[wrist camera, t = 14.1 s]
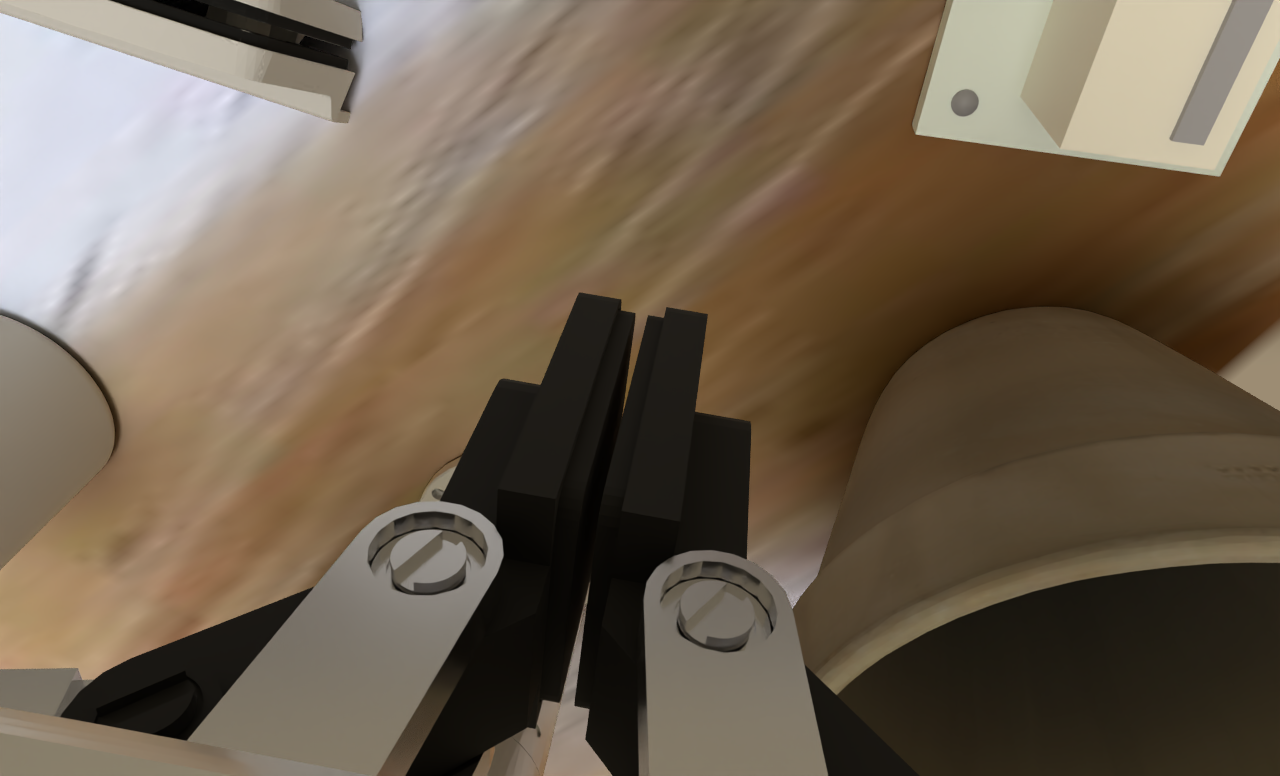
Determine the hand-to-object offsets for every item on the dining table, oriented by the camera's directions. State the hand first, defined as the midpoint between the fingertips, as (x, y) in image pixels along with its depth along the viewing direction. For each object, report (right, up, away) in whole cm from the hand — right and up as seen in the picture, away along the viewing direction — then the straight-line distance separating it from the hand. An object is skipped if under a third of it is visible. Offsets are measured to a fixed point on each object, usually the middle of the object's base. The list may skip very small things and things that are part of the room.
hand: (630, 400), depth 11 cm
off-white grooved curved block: (-20, +18, +26) cm, 37 cm away
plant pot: (+19, -2, +32) cm, 37 cm away
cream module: (+18, +14, +20) cm, 30 cm away
